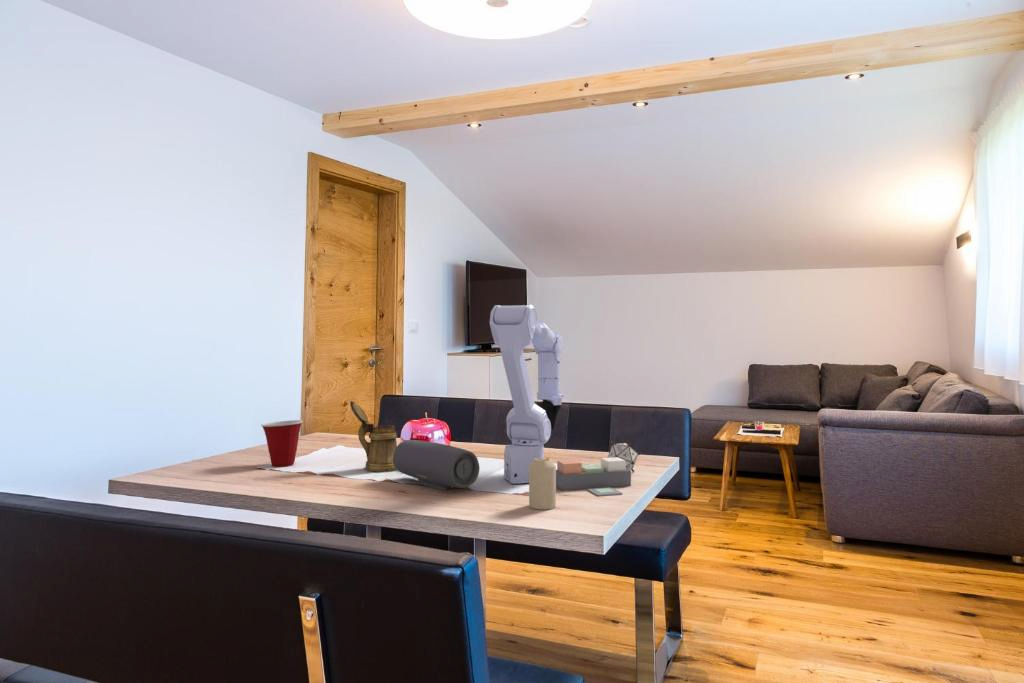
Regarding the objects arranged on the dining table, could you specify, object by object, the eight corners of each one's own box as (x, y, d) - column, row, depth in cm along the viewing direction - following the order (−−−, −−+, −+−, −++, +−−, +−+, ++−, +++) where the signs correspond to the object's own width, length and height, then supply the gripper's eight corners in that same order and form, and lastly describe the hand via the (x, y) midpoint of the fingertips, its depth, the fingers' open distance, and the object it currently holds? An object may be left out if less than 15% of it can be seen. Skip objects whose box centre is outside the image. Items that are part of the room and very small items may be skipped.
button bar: (561, 490, 153) (561, 475, 153) (552, 484, 159) (552, 469, 159) (630, 485, 158) (630, 470, 158) (619, 480, 164) (619, 465, 164)
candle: (554, 503, 142) (554, 455, 142) (557, 509, 136) (557, 460, 136) (528, 503, 141) (528, 456, 141) (529, 510, 136) (529, 460, 136)
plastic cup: (281, 460, 190) (280, 417, 190) (311, 462, 186) (311, 419, 186) (252, 466, 180) (252, 422, 180) (283, 470, 176) (283, 424, 176)
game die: (629, 487, 172) (645, 460, 167) (598, 475, 172) (612, 448, 167) (631, 465, 180) (646, 438, 174) (601, 453, 180) (615, 426, 174)
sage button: (586, 482, 156) (586, 469, 156) (579, 478, 160) (579, 465, 160) (603, 480, 157) (603, 468, 157) (596, 477, 161) (596, 464, 161)
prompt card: (597, 496, 148) (597, 494, 148) (587, 490, 153) (587, 488, 153) (622, 494, 149) (622, 492, 149) (611, 488, 155) (611, 486, 155)
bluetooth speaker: (481, 489, 154) (481, 446, 154) (450, 496, 147) (450, 451, 147) (421, 475, 170) (421, 435, 170) (391, 480, 164) (390, 439, 163)
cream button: (608, 474, 157) (608, 461, 157) (600, 470, 162) (601, 458, 162) (625, 473, 159) (625, 460, 159) (617, 469, 163) (617, 457, 163)
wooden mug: (356, 464, 184) (355, 399, 183) (404, 465, 182) (404, 399, 182) (344, 471, 175) (344, 402, 175) (395, 472, 173) (395, 402, 173)
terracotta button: (563, 477, 154) (563, 464, 154) (557, 473, 158) (557, 460, 158) (581, 475, 155) (581, 463, 155) (574, 472, 160) (574, 459, 160)
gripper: (572, 379, 172) (572, 432, 172) (554, 375, 186) (554, 424, 186) (546, 380, 170) (546, 434, 170) (529, 376, 184) (529, 425, 184)
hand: (549, 429), depth 178 cm, fingers closed
